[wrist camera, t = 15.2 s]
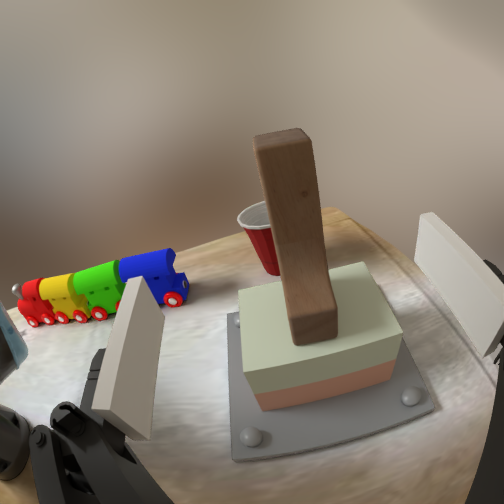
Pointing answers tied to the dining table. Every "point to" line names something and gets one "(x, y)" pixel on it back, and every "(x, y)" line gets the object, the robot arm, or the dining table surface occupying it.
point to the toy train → (100, 289)
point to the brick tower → (318, 372)
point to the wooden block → (297, 232)
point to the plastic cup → (260, 235)
